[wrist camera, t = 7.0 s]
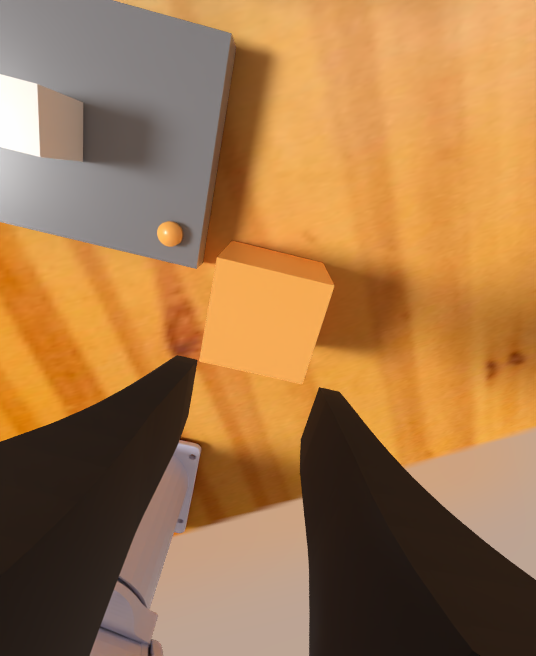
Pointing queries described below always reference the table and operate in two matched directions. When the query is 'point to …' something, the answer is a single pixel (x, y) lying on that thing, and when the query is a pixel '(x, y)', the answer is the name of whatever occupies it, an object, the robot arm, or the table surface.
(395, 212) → the table surface
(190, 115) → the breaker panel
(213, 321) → the orange cube
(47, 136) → the block
